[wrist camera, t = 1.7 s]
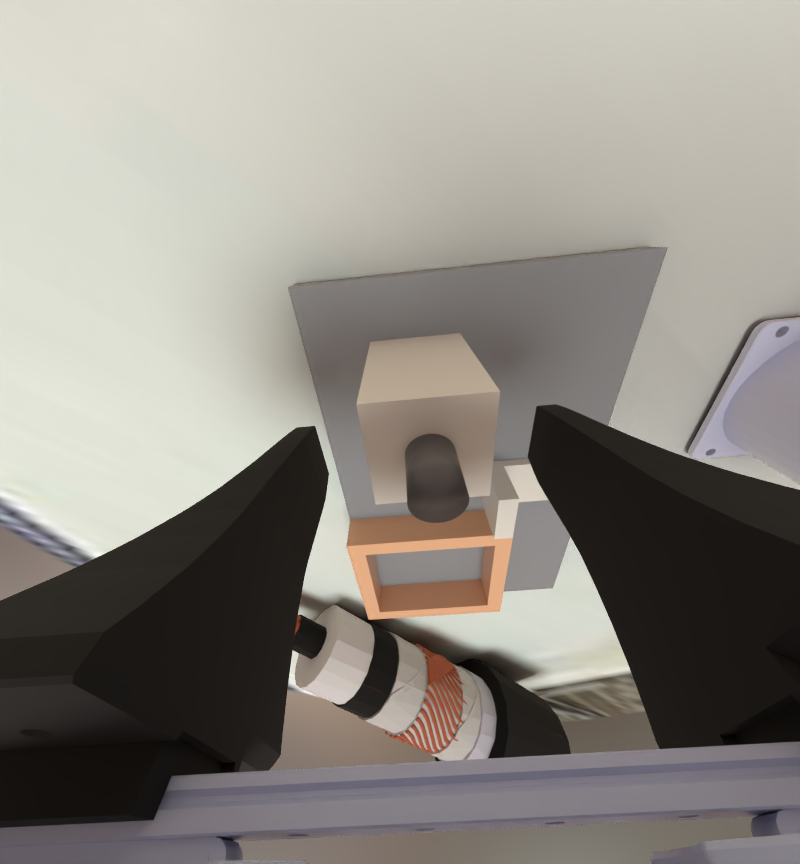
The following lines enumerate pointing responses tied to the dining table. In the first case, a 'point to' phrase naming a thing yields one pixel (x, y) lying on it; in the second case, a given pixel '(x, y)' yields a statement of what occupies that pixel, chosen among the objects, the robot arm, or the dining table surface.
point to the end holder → (427, 536)
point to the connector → (428, 424)
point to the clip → (510, 494)
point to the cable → (422, 692)
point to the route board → (502, 359)
